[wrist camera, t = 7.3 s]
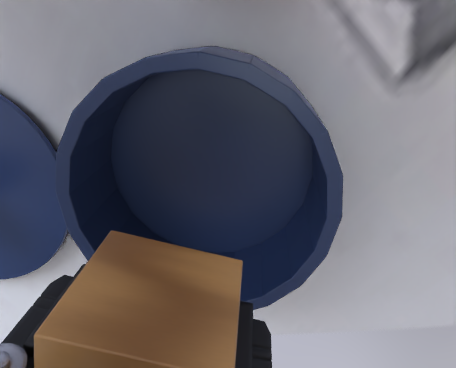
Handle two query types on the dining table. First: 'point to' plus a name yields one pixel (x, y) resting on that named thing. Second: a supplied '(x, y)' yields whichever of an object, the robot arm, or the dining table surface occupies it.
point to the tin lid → (26, 195)
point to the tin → (204, 166)
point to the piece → (145, 309)
